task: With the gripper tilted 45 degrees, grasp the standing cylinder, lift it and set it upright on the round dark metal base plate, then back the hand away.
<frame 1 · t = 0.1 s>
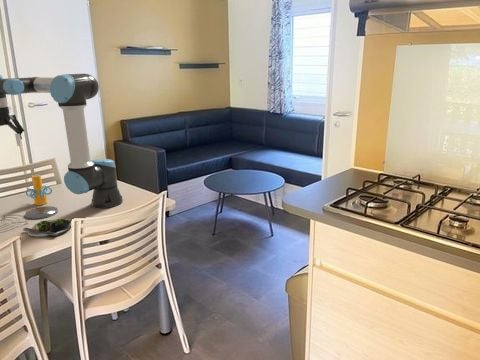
hand: (7, 148, 196), 28 cm above the table, tool pointing down, fingers open, 13 cm apart
cylinder: (41, 203, 199), on the table
base plate: (41, 213, 185), on the table
salad plate: (52, 230, 168), on the table
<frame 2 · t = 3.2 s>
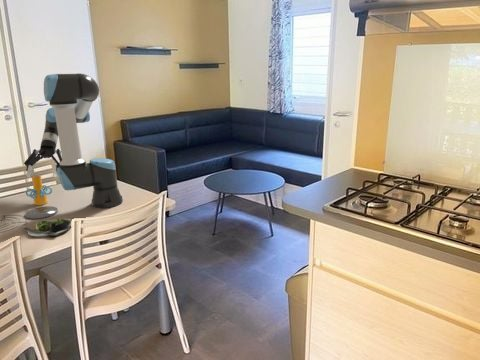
hand: (41, 176, 201), 13 cm above the table, tool tilted 45°, fingers open, 13 cm apart
nothing on the table moved.
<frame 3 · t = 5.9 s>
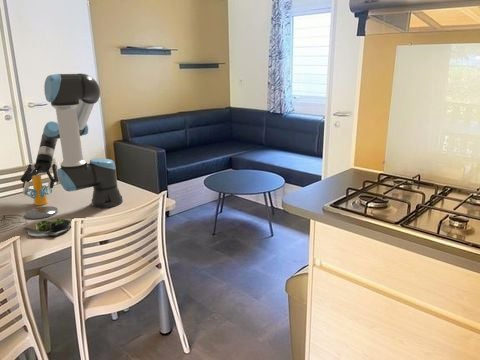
hand: (36, 193, 194), 6 cm above the table, tool tilted 45°, fingers closed on cylinder, 11 cm apart
cylinder: (41, 203, 199), on the table, touching gripper
everything else where it was.
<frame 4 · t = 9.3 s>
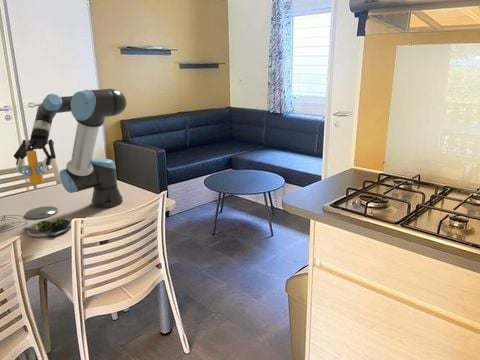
hand: (31, 171, 176), 22 cm above the table, tool tilted 45°, fingers closed on cylinder, 11 cm apart
cylinder: (36, 182, 181), point 16 cm above the table, touching gripper
everything else where it was.
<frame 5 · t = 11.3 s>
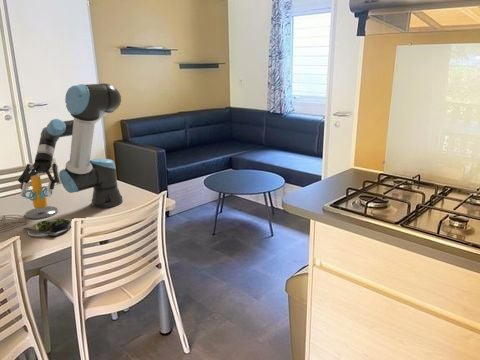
hand: (35, 195, 180), 10 cm above the table, tool tilted 45°, fingers closed on cylinder, 11 cm apart
cylinder: (40, 206, 185), point 4 cm above the table, touching gripper
everything else where it was.
when the fingers open (9 cm above the table, at t = 12.7 s): cylinder drops 1 cm, resting on base plate.
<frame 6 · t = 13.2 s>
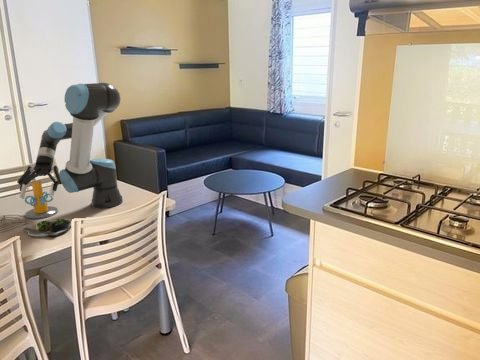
hand: (36, 197, 180), 9 cm above the table, tool tilted 45°, fingers open, 13 cm apart
cylinder: (41, 211, 185), point 1 cm above the table, touching base plate
everything else where it was.
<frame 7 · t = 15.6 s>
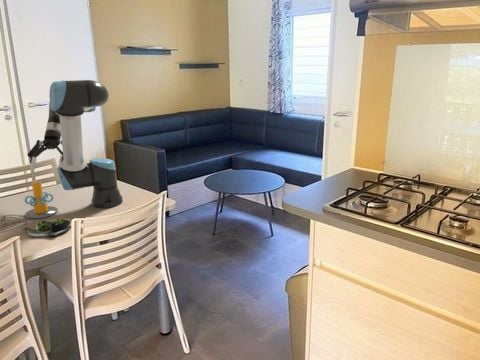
hand: (46, 169, 190), 19 cm above the table, tool tilted 45°, fingers open, 13 cm apart
nothing on the table moved.
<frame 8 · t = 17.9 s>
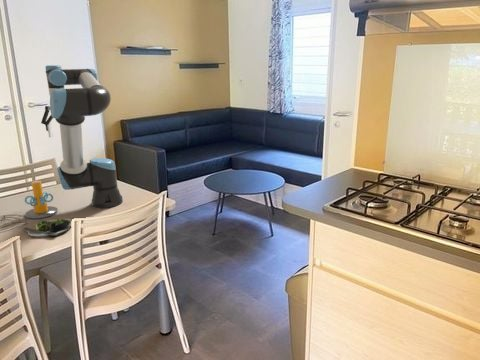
hand: (63, 136, 205), 32 cm above the table, tool pointing down, fingers open, 13 cm apart
nothing on the table moved.
at the end: cylinder inside the target area on the base plate (0.1 cm from its centre), point 0.8 cm above the base plate's base; cylinder tilted 0°; the gripper is holding nothing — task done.
